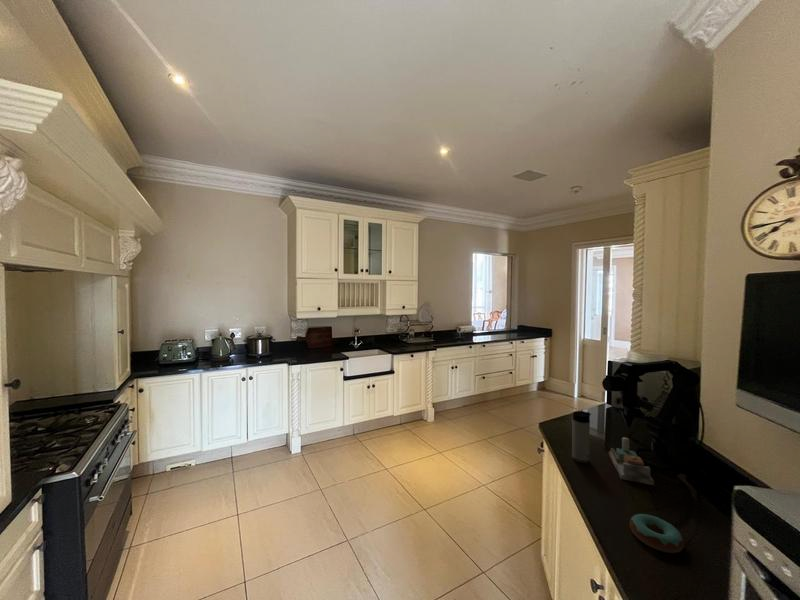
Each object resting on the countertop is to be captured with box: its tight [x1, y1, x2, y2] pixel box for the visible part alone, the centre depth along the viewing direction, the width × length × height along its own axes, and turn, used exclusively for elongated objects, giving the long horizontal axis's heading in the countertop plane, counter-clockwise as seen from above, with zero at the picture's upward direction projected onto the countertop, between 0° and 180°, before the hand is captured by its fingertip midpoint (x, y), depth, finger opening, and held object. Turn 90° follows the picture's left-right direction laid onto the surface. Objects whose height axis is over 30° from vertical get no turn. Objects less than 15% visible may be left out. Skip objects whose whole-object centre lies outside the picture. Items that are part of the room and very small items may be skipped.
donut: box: [629, 513, 685, 554], centre depth 88 cm, size 12×12×4 cm
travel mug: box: [571, 410, 592, 464], centre depth 130 cm, size 6×7×20 cm
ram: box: [615, 437, 638, 462], centre depth 128 cm, size 6×5×8 cm
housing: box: [624, 454, 645, 466], centre depth 119 cm, size 5×5×5 cm
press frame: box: [608, 447, 655, 486], centre depth 124 cm, size 10×20×6 cm, turn 157°
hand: (628, 426), depth 135 cm, fingers closed
